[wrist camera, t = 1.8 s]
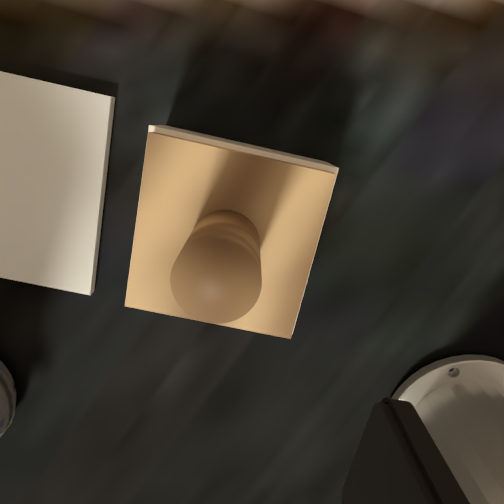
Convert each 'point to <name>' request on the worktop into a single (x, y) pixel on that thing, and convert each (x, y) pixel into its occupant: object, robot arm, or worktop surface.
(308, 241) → the lid
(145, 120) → the worktop surface
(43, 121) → the box
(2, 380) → the beverage bottle
